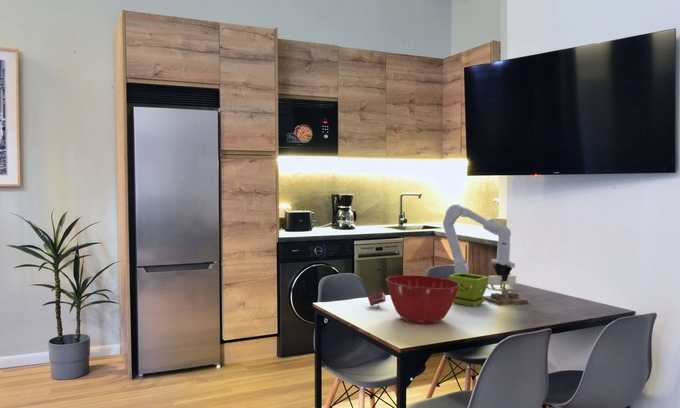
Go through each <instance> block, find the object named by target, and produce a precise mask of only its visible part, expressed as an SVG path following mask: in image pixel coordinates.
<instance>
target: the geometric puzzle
mask: <svg viewBox="0 0 680 408" xmlns="http://www.w3.org/2000/svg"><path fill="white" fill-rule="evenodd" d="M372 293H373V294H372ZM372 293H370V295H368V296H367V299H368V302H369V305H370V307H373V306H374V307H376V306H377V307H378V308H380V307H381V306H380V305H382V303H385V302H386V295H385V293H384V292H383V291H380V292H377V291H373V292H372Z"/></svg>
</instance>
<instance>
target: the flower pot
mask: <svg viewBox="0 0 680 408" xmlns="http://www.w3.org/2000/svg"><path fill="white" fill-rule="evenodd" d="M448 279H449V280H452V281H455V282H458V283H459V284H460V286H459V287H458V291H457V294H456V297H455V299H454V302H453V304H456V305H457V304H458V305H464V306H469V307H475V306H478V305H482V304H483V303H484V302H485V299H483V298H482V297H483V296H485V293H486V291H487V286H488V285H487V283H488V276H486V275H479V274H474V273H468V272H467V273H457V274H455V273H453V274H450V275H448Z"/></svg>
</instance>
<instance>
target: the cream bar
mask: <svg viewBox="0 0 680 408" xmlns="http://www.w3.org/2000/svg"><path fill="white" fill-rule="evenodd" d="M487 277H488V285H490V286H491V285H493V286H500V285H501V280H502V275H496V274H495V275H493V276H492V275H488V276H487ZM516 278H517V275H513V274H511V275H508V278H507V281H503V284H506V285H507V286H508V285H509V286H510V285H516V282H517V279H516ZM503 284H502V285H503Z"/></svg>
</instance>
